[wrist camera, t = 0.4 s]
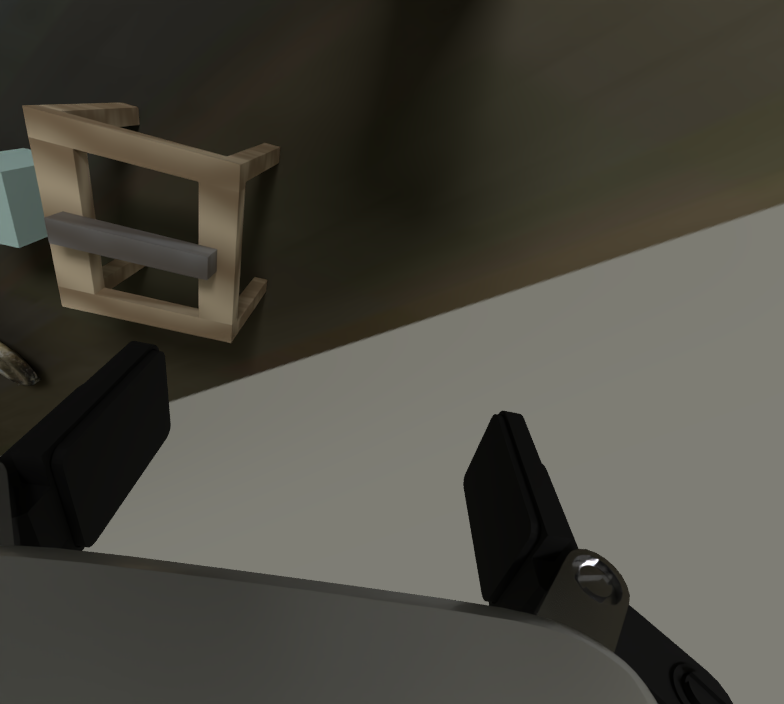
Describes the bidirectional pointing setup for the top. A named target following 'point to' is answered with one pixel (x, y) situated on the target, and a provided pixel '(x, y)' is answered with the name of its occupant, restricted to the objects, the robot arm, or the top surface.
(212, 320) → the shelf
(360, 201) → the top surface
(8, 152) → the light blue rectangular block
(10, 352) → the pulley block
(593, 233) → the top surface
